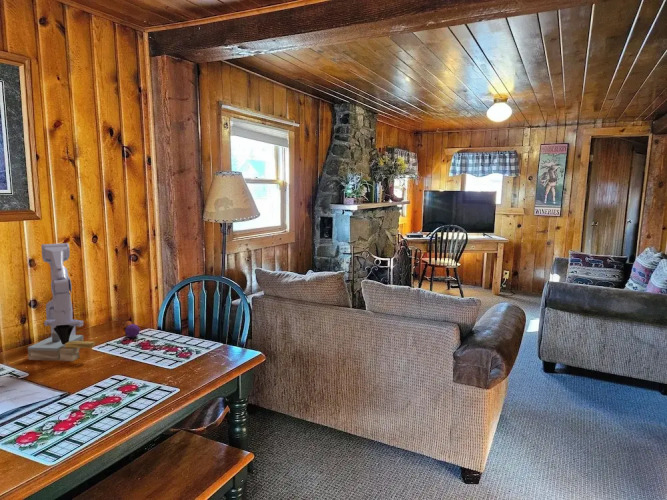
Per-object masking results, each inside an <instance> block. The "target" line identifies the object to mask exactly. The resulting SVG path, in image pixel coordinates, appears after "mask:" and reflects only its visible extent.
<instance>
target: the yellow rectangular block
mask: <svg viewBox="0 0 667 500" xmlns="http://www.w3.org/2000/svg"><path fill="white" fill-rule="evenodd" d="M95 343H96V342H95V341H88V340H87V341H86V340H85V341H69V342H67V343H65V347H74V348H80V349H82V348H84V349H91V348H93V347H94V346H95V345H96V344H95Z"/></svg>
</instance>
